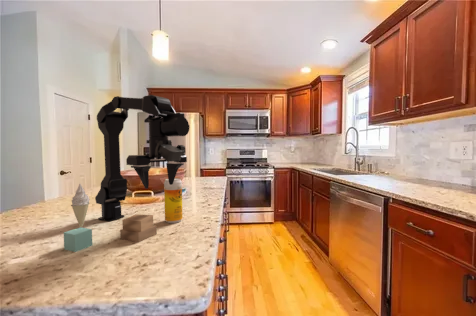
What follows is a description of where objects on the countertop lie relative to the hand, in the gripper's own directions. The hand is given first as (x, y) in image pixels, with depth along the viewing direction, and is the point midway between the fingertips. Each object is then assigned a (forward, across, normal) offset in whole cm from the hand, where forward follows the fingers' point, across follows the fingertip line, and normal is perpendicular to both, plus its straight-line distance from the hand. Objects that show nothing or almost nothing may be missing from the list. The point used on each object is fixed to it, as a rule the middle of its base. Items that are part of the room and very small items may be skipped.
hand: (159, 186), depth 75 cm
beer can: (+14, +9, +4) cm, 17 cm away
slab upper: (+11, -7, +1) cm, 13 cm away
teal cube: (+14, -20, +7) cm, 26 cm away
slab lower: (+14, -7, +1) cm, 16 cm away
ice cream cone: (+14, -13, +23) cm, 30 cm away
